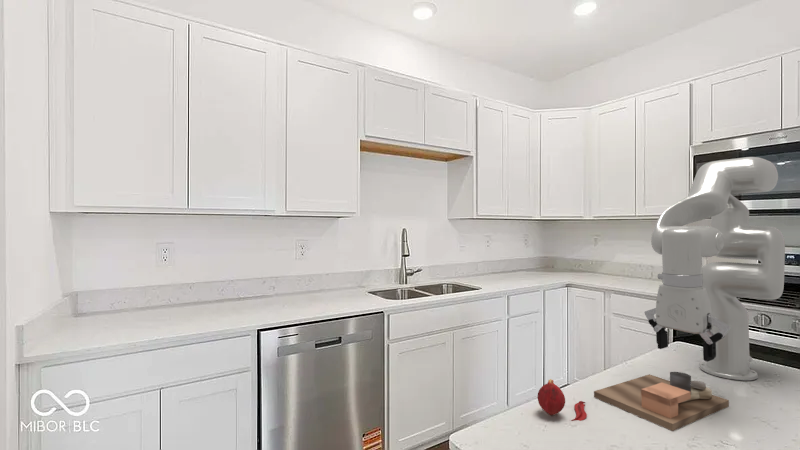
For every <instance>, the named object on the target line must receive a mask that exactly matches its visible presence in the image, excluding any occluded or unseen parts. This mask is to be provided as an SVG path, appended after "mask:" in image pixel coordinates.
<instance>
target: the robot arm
mask: <svg viewBox="0 0 800 450" xmlns="http://www.w3.org/2000/svg"><path fill="white" fill-rule="evenodd" d="M694 176H695V177H694V178H693V182H692V185H691V186H690V189H689V191H688V193H687V194H688V195H687V196H686V197H684V198H682V199H681V200H679V201H677V202H676V203H674V204H673V205H670V206H669V207H668V208H666V209H665V210H664V211H663V212H661V214H660V215H659V216H658V218H657V220H656V222H655V225H654V227H653V230H652V234H651V238H650V240H651V241H650V243H651V247H652V250H653V251H655V253H656V254H659V255H661V259H662V263H661V264H662V272H661V273H658V274H657V280H661V282H662V284H659V285H658V289H657V294H656V295H657V296H656V301H655V302H656V303H655V308H652V309H649V310H646V311H644V315H645V317H646V319H647V320H648V324H649V325H650V326H651V327H652V328H653V331H654V332H655V335H656V336H655V337H656V338H655V339H656V340H655V341H656V344H657V349H659V350H662V349H666V348H668V346H669V338H668V337H669V335H668V331H667V330H666V329H670V330H676V331H679V332H684V333H689V334H693V335H699V336H700V337H701V338H702V339H703V341H704V342H703V343H702V351H703V352H702V357H703V361H701V362H700V363H699V368H700V370H702V371H703V372H704V373H707V374H709V375H712V376H715V377H720V378H724V379H728V380H734V381H735V380H736V381H754V380H756V379H758V372H756V370H754V369H752V368H750V363H751V362H752V361H753V357H752V356H751V355H750V331H749V330H750V328H749V327H750V325H749V324H750V323H749V320H750V319H749V312H748V309H746V307H745V306H744V304H743V303H742V302H741V301H740V300H739V299H738V298H748V299H755V300H756V299H757V300H766V301H767V300H768V301H772V300H774V301H775V300H777V299H780V298H781V297H782V295H783V292H784V287H785V286H784V285H785V266H786V265H785V264H786V263H785V262H786V261H785V260H786V259H785V258H786V243H785V236H784V235H783V233H782V231H781V230H780V229H778V228H777V227H775V226H771V225H750V224H749V223H750V210H749V208H748V207H747V206H746V205H745V203H743V202H742V201H741V200H739V199H738V197H735V196H734V195H737V194H738V195H739V194H752V193H753V194H754V193H755V194H756V193H757V194H758V193H767V192H770V191H772V190H773V189H775V187H776V186H777V183H778V181H779V173H778V170H777V166H776V165H775V164H774V163H773V162H772V161H770V160H767V159H765V158H762V157H758V156H746V157H744V156H743V157H737V158H730V159H727V158H726V159H719V160H712V161H709V162H706V163H704V164H703V165H701V166H700V167H699V168H698V169H697V171H696V174H695V175H694ZM710 218H711V219H710ZM706 219H710V226H709V225H688V224H693V223H696V222H700V221H703V220H706ZM711 257H716V258H722V259H732V260H755V261H759V262H760V263H746V262H743V263H742V262H732V261H731V262H728V261H716V262H715V261H713V262H709V263H707V264H705V265H704V266H703V258H711Z"/></svg>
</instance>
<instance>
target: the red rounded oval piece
mask: <svg viewBox="0 0 800 450" xmlns="http://www.w3.org/2000/svg"><path fill="white" fill-rule="evenodd" d="M537 402H538V405H539V407H540V409H542V410H543V411H544V412H545V413H546V414H548V415H549V416H551V417H553V416H555V415H557V414H559V413H560V412H562V410H563V409H564V407H565V406H566V405H565V404H566V397H565V394H564V392H563V390H562V389H561V388H560V387H559V386H558V385H556V384H555V383H554V379H552V378H550V379H548V382H547V383H545V384H543V385H542V386H541V387H540V388H539V390H538V392H537Z"/></svg>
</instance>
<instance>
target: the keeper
mask: <svg viewBox="0 0 800 450" xmlns="http://www.w3.org/2000/svg"><path fill="white" fill-rule="evenodd" d="M641 399H642V407H643V408H646V409H648V410H651V411H653V412H656V413H658V414H661V415H663V416H665V417H668V418H673V417H675V416H678V403H681V402H683V401H686V400H689V399H691V392H690V391H687V390H684V389H681V388H678V387H675V386H672V385H669V384H665V383H662V382H661V383H658V384H655V385H652V386H649V387H646V388H643V389H641Z"/></svg>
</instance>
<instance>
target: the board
mask: <svg viewBox="0 0 800 450" xmlns="http://www.w3.org/2000/svg"><path fill="white" fill-rule="evenodd" d="M661 382H662V383H665V384H669V385H670V379H666V378H663V377H658V376H656V375H654V374H651V373H650V374H645V375H643V376H640V377H636V378H632V379H629V380H626V381H623V382H620V383H616V384H614V385H611V386H607V387H604V388H599V389H597V390H594V391H593V398H595V399H597V400H599V401H602V402H604V403H606V404H609V405H611V406H612V407H613V406H614V407H615V408H618V409H620V410H622V411H625V412H628V413H629V414H632V415H634V416H636V417H639V418H641V419H644V420H646V421H648V422H649V423H650V422H651V423H653V424H655V425H657V426H660V427H662V428H664V429H666V430H669V431H671V432H674V431H676V430H679V429H681V428H683V427H686V426H688V425H690V424H692V423H695V422H698V421H699V420H702V419H704V418H706V417H709V416H710V415H711V416H712V415H713V414H715V413H718V412H720V411H722V410H724V409H726V408H729V407H730V400H729V399H727V398H724V397H721V396H717V395H714V394H712V398H711V399H700V398H699V399H694V400H690V401H685V402H681V403H678V416H675V417H673V418H668V417H665V416H663V415H661V414H658V413H656V412H653V411H651V410H648V409H646V408H643V407H642V399H641V389H643V388H646V387H649V386H652V385H655V384H658V383H661ZM691 386H692V387H693V388H696V389H706V387H707V384H706V383H705V382H703V381H701V380H691Z"/></svg>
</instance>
